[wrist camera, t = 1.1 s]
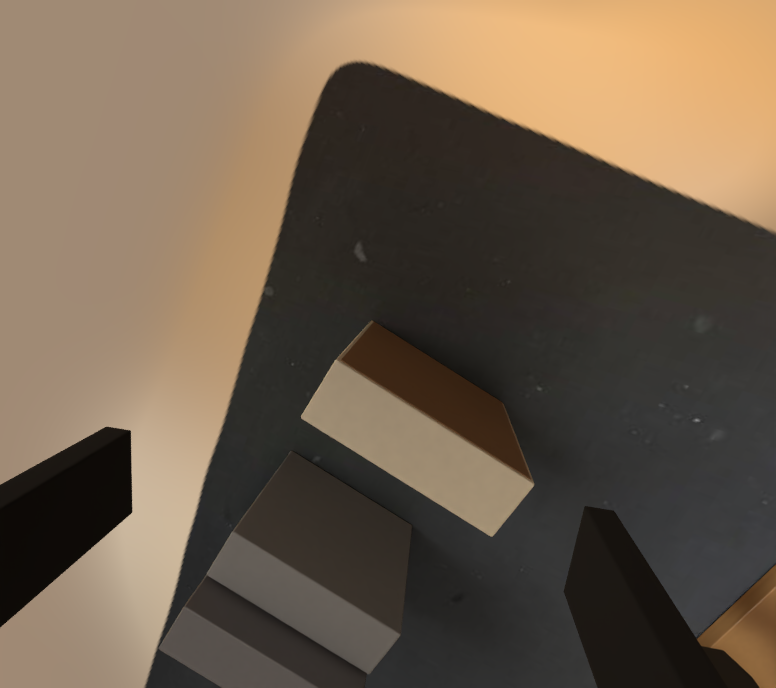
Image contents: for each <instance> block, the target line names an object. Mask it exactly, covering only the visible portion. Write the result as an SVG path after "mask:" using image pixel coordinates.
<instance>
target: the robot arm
mask: <svg viewBox="0 0 776 688" xmlns="http://www.w3.org/2000/svg"><path fill="white" fill-rule="evenodd" d="M131 476H132V475H131V431H130V430H124V429H117V428H111V427H105V428H103V429H101V430H100V431H98V432H96V433H94V434H93V435H90V436H89V437H87V438H85V439H83V440H81V441H79V442H78V443H76V444H74V445H72V446H70V447H68V448H67V449H65V450H63V451H61V452H60V453H58V454H56V455H54V456H52V457H50V458H48V459H47V460H45V461H43V462H41V463H39V464H37V465H36V466H34V467H32V468H30V469H28V470H27V471H25V472H23V473H21V474H19V475H18V476H16V477H14V478H12V479H10V480H8V481H6V482H5V483H3V484H1V485H0V627H1V626H2V625H4V624H5V623H6V622H7V621H8V620H9V619H10V618H11V617H13V616H14V615H15V614H16V613H17V612H18V611H20V610H21V609H22V608H23V607H24V606H25V605H26V604H28V603H29V602H30V601H31V600H32V599H33V598H34V597H36V596H37V595H38V594H39V593H40V592H41V591H43V590H44V589H45V588H46V587H47V586H48V585H49V584H51V583H52V582H53V581H54V580H55V579H56V578H58V577H59V576H60V575H61V574H62V573H63V572H64V571H66V569H68V568H69V567H70V566H71V565H72V564H74V563H75V562H76V561H77V560H78V559H79V558H81V556H83V555H84V554H85V553H86V552H87V551H88V550H90V549H91V548H92V547H93V546H94V545H95V544H97V543H98V542H99V541H100V540H101V539H102V538H103V537H105V536H106V535H107V534H108V533H109V532H110V531H112V530H113V529H114V528H115V527H116V526H117V525H118V524H119V523H121V522H122V521H123V520H124V519H125V518H126V517H128V516H129V515H130V514H131V513H132V477H131ZM564 593H565V596H566V599H567V602H568V605H569V608H570V610H571V613H572V616H573V619H574V622H575V625H576V628H577V630H578V633H579V636H580V639H581V642H582V645H583V647H584V650H585V653H586V656H587V659H588V662H589V664H590V667H591V670H592V673H593V676H594V679H595V682H596V684H597V687H598V688H760V687H759V686H758V685H757V683H756V682H755V680H754V679H753V678H752V676H751V675H750V674H748V673H747V672H746V671H745V670H744V669H743V668H742V667H741V666H740V665H739V664H738V663H737V662H736V661H734V660H733V659H732V658H731V657H730V656H729V655H728V654H727V653H726V652H725V651H724V650H720V649H714V648H709V647H704V646H701V645H700V644H699V642H698V640H697V639H696V637H695V636H694V634H693V633H692V631H691V630H690V628H689V626H688V625H687V623H686V622H685V620H684V619H683V617H682V616H681V614H680V612H679V611H678V609H677V608H676V606H675V605H674V603H673V602H672V600H671V599H670V597H669V595H668V594H667V592H666V591H665V589H664V588H663V586H662V585H661V583H660V581H659V580H658V578H657V577H656V575H655V574H654V572H653V571H652V569H651V568H650V566H649V564H648V563H647V561H646V560H645V558H644V557H643V555H642V554H641V552H640V550H639V549H638V547H637V546H636V544H635V543H634V541H633V540H632V538H631V537H630V535H629V533H628V532H627V530H626V529H625V527H624V526H623V524H622V523H621V521H620V519H619V518H618V516H617V515H616V513H615V512H614V511H612V510H606V509H600V508H594V507H588V506H585V507H584V511H583V516H582V520H581V524H580V528H579V532H578V536H577V540H576V544H575V548H574V552H573V556H572V560H571V564H570V568H569V572H568V576H567V580H566V585H565V589H564Z"/></svg>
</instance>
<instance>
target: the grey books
mask: <svg viewBox="0 0 776 688" xmlns="http://www.w3.org/2000/svg"><path fill="white" fill-rule="evenodd" d="M411 532H412V525H411V524H409V523H407V522H406V521H404V520H402V519H401V518H399V517H398V516H396V515H394V514H393V513H391V512H390V511H388V510H386V509H385V508H383V507H382V506H380V505H378V504H377V503H375V502H374V501H372V500H370V499H369V498H367V497H366V496H364V495H362V494H361V493H359V492H357V491H356V490H354V489H353V488H351V487H349V486H348V485H346V484H345V483H343V482H341V481H340V480H338V479H337V478H335V477H333V476H332V475H330V474H329V473H327V472H325V471H324V470H322V469H321V468H319V467H317V466H316V465H314V464H312V463H311V462H309V461H308V460H306V459H304V458H303V457H301V456H300V455H298V454H296V453H295V452H293V451H290V453H289V454H288V455H287V457H286V458H285V460H284V461H283V462H282V464H281V465H280V466H279V468H278V469H277V471H276V472H275V473H274V475H273V476H272V478H271V479H270V480H269V482H268V483H267V484H266V486H265V487H264V489H263V490H262V491H261V493H260V494H259V495H258V497H257V498H256V500H255V501H254V502H253V504H252V505H251V507H250V508H249V509H248V511H247V512H246V513H245V515H244V516H243V518H242V519H241V520H240V522H239V523H238V524H237V526H236V527H235V529H234V530H233V531H232V533H231V535H230V536H229V538H228V539H227V541H226V543H225V544H224V546H223V548H222V549H221V551H220V553H219V554H218V556H217V558H216V559H215V561H214V562H213V564H212V566H211V567H210V569H209V571H208V572H207V575H206V576H205V577H204V579H203V580H202V582H201V583H200V585H199V586H198V587H197V589H196V590H195V592H194V593H193V594H192V596H191V597H190V599H189V600H188V601H187V603H186V604H185V606H184V607H183V609H182V611H181V612H180V614H179V615H178V617H177V619H176V620H175V622H174V624H173V625H172V627H171V629H170V630H169V632H168V634H167V635H166V637H165V639H164V640H163V642H162V643H161V645H160V647H159V649H160V650H161V651H163V652H164V653H166V654H168V655H169V656H171V657H173V658H174V659H176V660H178V661H179V662H181V663H182V664H184V665H186V666H187V667H189V668H191V669H192V670H194V671H196V672H197V673H199V674H201V675H202V676H204V677H206V678H207V679H209V680H210V681H212V682H214V683H215V684H217V685H219V686H220V687H222V688H364V687H365V681H366V675H367V674H370V673H371V672H372V670H373V669H374V668H375V667H376V665H377V664H378V663H379V662H380V660H381V659H382V658H383V657H384V655H385V654H386V653H387V652H388V650H389V649H390V648H391V647H392V645H393V644H394V643H395V642H396V640H397V639H398V638H399V637H400V635H401V628H402V618H403V609H404V599H405V590H406V580H407V570H408V561H409V551H410V542H411Z"/></svg>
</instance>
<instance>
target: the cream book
mask: <svg viewBox="0 0 776 688" xmlns="http://www.w3.org/2000/svg"><path fill="white" fill-rule="evenodd" d="M301 418H302V419H303V420H305V421H306V422H308V423H310V424H311V425H313V426H314V427H316V428H318V429H319V430H321V431H322V432H324V433H326V434H327V435H329V436H330V437H332V438H334V439H335V440H337V441H338V442H340V443H342V444H343V445H345V446H346V447H348V448H350V449H351V450H353V451H354V452H356V453H358V454H359V455H361V456H362V457H364V458H366V459H367V460H369V461H370V462H372V463H374V464H375V465H377V466H378V467H380V468H382V469H383V470H385V471H386V472H388V473H390V474H391V475H393V476H394V477H396V478H398V479H399V480H401V481H402V482H404V483H406V484H407V485H409V486H411V487H412V488H414V489H415V490H417V491H419V492H420V493H422V494H423V495H425V496H427V497H428V498H430V499H431V500H433V501H435V502H436V503H438V504H439V505H441V506H443V507H444V508H446V509H447V510H449V511H451V512H452V513H454V514H455V515H457V516H459V517H460V518H462V519H463V520H465V521H467V522H468V523H470V524H471V525H473V526H475V527H476V528H478V529H479V530H481V531H483V532H484V533H486V534H487V535H489V536H491V537H493V535H494V534H495V533H496V532H497V531H498V529H499V528H500V527H501V526H502V524H503V523H504V522H505V521H506V519H507V518H508V517H509V516H510V515H511V513H512V512H513V511H514V510H515V508H516V507H517V506H518V505H519V503H520V502H521V501H522V500H523V499H524V497H525V496H526V495H527V494H528V492H529V491H530V490H531V489H532V488H533V486H534V482H533V479H532V476H531V474H530V471H529V469H528V466H527V463H526V461H525V458H524V456H523V453H522V451H521V448H520V445H519V443H518V440H517V438H516V435H515V432H514V430H513V427H512V425H511V422H510V419H509V417H508V414H507V412H506V409H505V407H504V404H503V403H502V402H501V401H499V400H498V399H496V398H494V397H493V396H491V395H490V394H488V393H487V392H485V391H483V390H482V389H480V388H479V387H477V386H475V385H474V384H472V383H471V382H469V381H468V380H466V379H464V378H463V377H461V376H460V375H458V374H456V373H455V372H453V371H452V370H450V369H449V368H447V367H445V366H444V365H442V364H441V363H439V362H437V361H436V360H434V359H433V358H431V357H430V356H428V355H426V354H425V353H423V352H422V351H420V350H418V349H417V348H415V347H414V346H412V345H411V344H409V343H407V342H406V341H404V340H403V339H401V338H399V337H398V336H396V335H395V334H393V333H392V332H390V331H388V330H387V329H385V328H384V327H382V326H380V325H379V324H377V323H376V322H374V321H372V320H371V321H370V322H369V324H368V325H367V326H366V327H365V328H364V329H363V330H362V331H361V332H360V333H359V335H358V336H357V337H356V338H355V339H354V340H353V341H352V342H351V343H350V344H349V346H348V347H347V348H346V349H345V350H344V351H343V352H342V353H341V354H340V355H339V357H338V358H337V359H336V360H335V361H334V363H333V365H332V366H331V368H330V370H329V371H328V373H327V374H326V376H325V378H324V379H323V381H322V383H321V384H320V386H319V388H318V389H317V391H316V393H315V394H314V396H313V397H312V399H311V401H310V402H309V404H308V406H307V407H306V409H305V411H304V412H303V414H302V416H301Z"/></svg>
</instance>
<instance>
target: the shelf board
mask: <svg viewBox="0 0 776 688" xmlns="http://www.w3.org/2000/svg"><path fill="white" fill-rule="evenodd" d="M697 640H698V642H699V644H700V645H701V646H704V647H709V648H714V649H720V650H724V651H725V652H726V653H727V654H728V655H729V656H730V657H731V658H732V659H733V660H734V661H736V662H737V663H738V664H739V665H740V666H741V667H742V668H743V669H744V670H745V671H746V672H747V673H748V674H750V675H751V676H752V678H753V679H754V680H755V682H756V683H757V685H758V686H759V687H760V688H776V565H775V566H774V567H773V568H771V569H770V570H769V571H768V572H767V573H766V574H765V575H764V576H763V577H762V578H761V579H760V580H759V581H758V582H757V583H756V584H755V585H753V586H752V587H751V588H750V589H749V590H748V591H747V592H746V593H745V594H744V595H743V596H742V597H741V598H740V599H739V600H738V601H737V602H735V603H734V604H733V605H732V606H731V607H730V608H729V609H728V610H727V611H726V612H725V613H724V614H723V615H722V616H721V617H720V618H719V619H717V620H716V621H715V622H714V623H713V624H712V625H711V626H710V627H709V628H708V629H707V630H706V631H705V632H704V633H703V634H702V635H701V636H700V637H698V638H697Z"/></svg>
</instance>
